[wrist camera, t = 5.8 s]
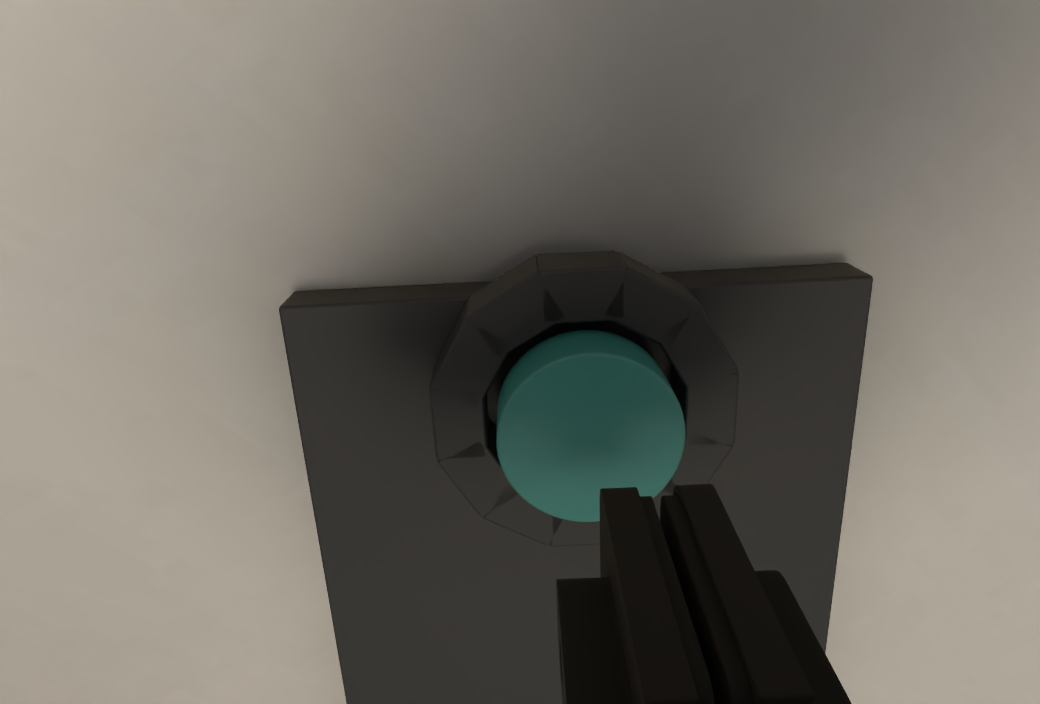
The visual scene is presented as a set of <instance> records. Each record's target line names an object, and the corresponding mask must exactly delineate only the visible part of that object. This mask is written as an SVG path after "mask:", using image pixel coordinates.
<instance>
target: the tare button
mask: <svg viewBox="0 0 1040 704" xmlns="http://www.w3.org/2000/svg"><path fill="white" fill-rule="evenodd" d="M685 436H686V435H685V421H684V416H683V412H682V409H681V406H680V403H679V401H678V399H677V397H676V395H675V394H674V392H673V390H672V388H671V386H670V384H669V383H668V381H667V379H666V377H665V375H664V373H663V372H662V370H661V368H660V367H659V365H658V364H657V362H656V361H655V360H654V359H653V358H652V357H651V355H650V354H649V353H648V352H647V351H645V350H644V349H643V348H641V347H640V346H639V345H638V344H636V343H634V342H632V341H631V340H629V339H627V338H624V337H622V336H620V335H617V334H613V333H609V332H605V331H598V330H578V331H570V332H566V333H562V334H558V335H556V336H553V337H550V338H548V339H546V340H544V341H542V342H540V343H538V344H537V345H535V346H534V347H532V348H531V349H530V350H528V351H527V352H526V353H525V354H524V355H523V356H521V357H520V358H519V360H518V361H517V362H516V363H515V364H514V365H513V367H512V368H511V370H510V371H509V373H508V374H507V376H506V378H505V380H504V382H503V384H502V387H501V390H500V394H499V397H498V404H497V444H496V446H497V453H498V458H499V461H500V465H501V468H502V470H503V472H504V474H505V476H506V478H507V480H508V481H509V483H510V484H511V486H512V487H513V488H514V489H515V491H516V492H517V493H518V494H519V495H520V496H521V497H522V498H523V499H525V500H526V501H527V502H528V503H529V504H531V505H532V506H534V507H535V508H537V509H539V510H541V511H542V512H544V513H546V514H549V515H552V516H554V517H557V518H561V519H565V520H569V521H578V522H596V521H600V489H603V488H626V487H636V488H637V489H638V492H639V495H640V496H651V497H652V498H654V497H655V496H657V495H658V494H659V493H660V492H661V491H662V490H663V488H664V487H665V486H666V485H667V483H668V482H669V481H670V480H671V478H672V476H673V475H674V473H675V471H676V469H677V467H678V465H679V462H680V460H681V457H682V454H683V450H684V445H685Z"/></svg>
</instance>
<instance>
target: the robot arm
mask: <svg viewBox="0 0 1040 704" xmlns="http://www.w3.org/2000/svg"><path fill="white" fill-rule="evenodd" d="M556 594H557V621H558V644H559V662H560V678H561V692H562V704H851V702H850V700H849V698H848V696H847V694H846V692H845V690H844V689H843V687H842V685H841V683H840V681H839V679H838V677H837V675H836V674H835V672H834V670H833V668H832V666H831V664H830V662H829V660H828V659H827V657H826V655H825V653H824V651H823V649H822V647H821V645H820V643H819V642H818V640H817V638H816V636H815V634H814V632H813V630H812V628H811V627H810V625H809V623H808V621H807V619H806V617H805V615H804V613H803V611H802V610H801V608H800V606H799V604H798V602H797V600H796V598H795V596H794V595H793V593H792V591H791V589H790V587H789V585H788V583H787V581H786V580H785V578H784V577H783V575H782V574H781V573H780V572H779V571H777V570H764V571H755V570H754V568H753V566H752V564H751V562H750V560H749V558H748V556H747V554H746V551H745V549H744V547H743V545H742V543H741V541H740V539H739V537H738V535H737V533H736V531H735V528H734V526H733V524H732V522H731V520H730V518H729V516H728V514H727V512H726V510H725V508H724V506H723V503H722V501H721V499H720V497H719V495H718V493H717V491H716V489H715V487H714V486H713V484H695V485H675V487H674V489H673V495H663V496H662V497H661V502H660V520H659V517H658V514H657V511H656V507H655V504H654V501H653V498H652V497H651V496H640V495H639V492H638V489H637V488H636V487H626V488H603V489H600V577H597V578H573V579H556Z"/></svg>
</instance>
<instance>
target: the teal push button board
mask: <svg viewBox="0 0 1040 704" xmlns="http://www.w3.org/2000/svg"><path fill="white" fill-rule="evenodd" d="M872 282H873V278H872V276H870V275H869V274H867V273H865V272H863V271H861V270H859V269H857V268H855V267H853V266H852V265H850V264H847V263H838V264H819V265H800V266H780V267H761V268H742V269H723V270H703V271H684V272H665V273H659V272H657V271H655V270H653V269H651V268H649V267H648V266H646V265H644V264H642V263H640V262H638V261H636V260H634V259H632V258H630V257H628V256H626V255H624V254H622V253H620V252H617V253H616V251H593V252H574V253H555V254H538V255H537V256H536V255H535V256H532V257H531V258H529V259H527V260H526V261H524V262H523V263H521V264H520V265H518V266H516V267H515V268H513V269H512V270H510V271H509V272H507V273H505V274H504V275H502V276H501V277H499V278H498V279H496V280H494V281H491V282H472V283H453V284H433V285H414V286H395V287H375V288H356V289H337V290H318V291H298V292H294V293H293V294H292V295H291V296H290V297H289V298H288V299H287V300H286V301H285V302H284V303H283V304H282V305H281V306H280V308H279V313H280V318H281V324H282V330H283V336H284V342H285V347H286V353H287V359H288V365H289V371H290V376H291V382H292V388H293V394H294V400H295V405H296V411H297V417H298V423H299V429H300V435H301V440H302V446H303V452H304V458H305V464H306V469H307V475H308V481H309V487H310V493H311V498H312V504H313V510H314V516H315V522H316V527H317V533H318V539H319V545H320V551H321V556H322V562H323V568H324V574H325V580H326V585H327V591H328V597H329V603H330V609H331V615H332V620H333V626H334V632H335V638H336V644H337V649H338V655H339V661H340V667H341V673H342V678H343V684H344V690H345V696H346V702H347V704H562V692H561V678H560V662H559V644H558V621H557V594H556V579H573V578H597V577H600V521H596V522H578V521H569V520H565V519H561V518H557V517H554V516H552V515H549V514H546V513H544V512H542V511H541V510H539V509H537V508H535V507H534V506H532V505H531V504H529V503H528V502H527V501H526V500H525V499H523V498H522V497H521V496H520V495H519V494H518V493H517V492H516V491H515V489H514V488H513V487H512V486H511V484H510V483H509V481H508V480H507V478H506V476H505V474H504V472H503V470H502V468H501V465H500V461H499V458H498V453H497V446H496V444H497V404H498V397H499V394H500V390H501V387H502V384H503V382H504V380H505V378H506V376H507V374H508V373H509V371H510V370H511V368H512V367H513V365H514V364H515V363H516V362H517V361H518V360H519V358H520V357H521V356H523V355H524V354H525V353H526V352H527V351H528V350H530V349H531V348H532V347H534V346H535V345H537V344H538V343H540V342H542V341H544V340H546V339H548V338H550V337H553V336H556V335H558V334H562V333H566V332H570V331H578V330H598V331H605V332H609V333H613V334H617V335H620V336H622V337H624V338H627V339H629V340H631V341H632V342H634V343H636V344H638V345H639V346H640V347H641V348H643V349H644V350H645V351H647V352H648V353H649V354H650V355H651V357H652V358H653V359H654V360H655V361H656V362H657V364H658V365H659V367H660V368H661V370H662V372H663V373H664V375H665V377H666V379H667V381H668V383H669V384H670V386H671V388H672V390H673V392H674V394H675V395H676V397H677V399H678V401H679V403H680V406H681V409H682V412H683V416H684V421H685V435H686V436H685V445H684V450H683V454H682V457H681V460H680V462H679V465H678V467H677V469H676V471H675V473H674V475H673V476H672V478H671V480H670V481H669V482H668V483H667V485H666V486H665V487H664V488H663V490H662V491H661V492H660V493H659V494H658V495H657V496H655V497H654V498H653V501H654V504H655V507H656V511H657V514H658V517H659V520H660V502H661V497H662V496H663V495H673V489H674V487H675V485H695V484H713V486H714V487H715V489H716V491H717V493H718V495H719V497H720V499H721V501H722V503H723V506H724V508H725V510H726V512H727V514H728V516H729V518H730V520H731V522H732V524H733V526H734V528H735V531H736V533H737V535H738V537H739V539H740V541H741V543H742V545H743V547H744V549H745V551H746V554H747V556H748V558H749V560H750V562H751V564H752V566H753V568H754V570H755V571H764V570H777V571H779V572H780V573H781V574H782V575H783V577H784V578H785V580H786V581H787V583H788V585H789V587H790V589H791V591H792V593H793V595H794V596H795V598H796V600H797V602H798V604H799V606H800V608H801V610H802V611H803V613H804V615H805V617H806V619H807V621H808V623H809V625H810V627H811V628H812V630H813V632H814V634H815V636H816V638H817V640H818V642H819V643H820V645H821V647H822V649H823V651H824V653H825V650H826V643H827V635H828V627H829V619H830V611H831V603H832V596H833V588H834V580H835V572H836V564H837V556H838V549H839V541H840V533H841V525H842V517H843V509H844V502H845V494H846V486H847V478H848V470H849V462H850V455H851V447H852V439H853V431H854V423H855V415H856V408H857V400H858V392H859V384H860V376H861V368H862V361H863V353H864V345H865V337H866V329H867V321H868V314H869V306H870V298H871V290H872Z"/></svg>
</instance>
